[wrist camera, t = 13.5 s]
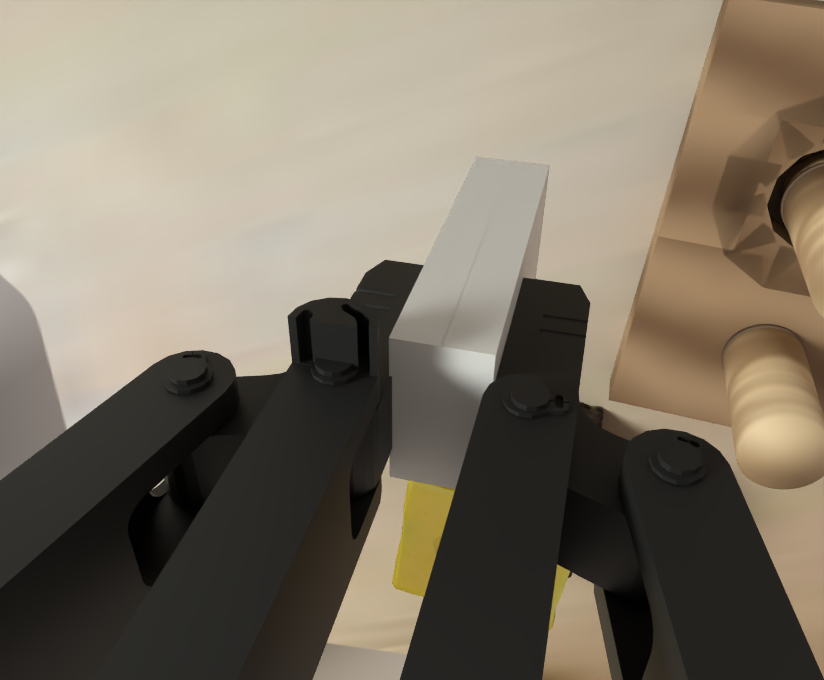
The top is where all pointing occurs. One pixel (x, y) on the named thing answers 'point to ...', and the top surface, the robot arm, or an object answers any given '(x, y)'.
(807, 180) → the oak leg
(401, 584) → the black and yellow cube
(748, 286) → the seat board
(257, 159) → the top surface
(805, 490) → the top surface
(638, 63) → the top surface
